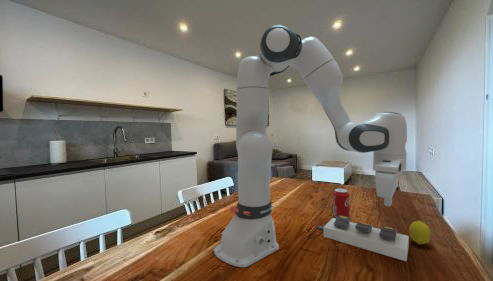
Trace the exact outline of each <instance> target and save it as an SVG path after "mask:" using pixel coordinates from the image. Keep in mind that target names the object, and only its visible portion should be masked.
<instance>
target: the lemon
mask: <svg viewBox="0 0 493 281" xmlns="http://www.w3.org/2000/svg"><path fill="white" fill-rule="evenodd" d="M408 233H409V238H411V240H412V241H414V242H415V243H416V244H418V245H419V246H421V245H424V244H425V245H426V244H427V243H429V242H430V241H431V236H432V235H431V230H430V228H429V226H428V225H427V224H426V223H424V222H423V221H421V220H416V221H412V223H411V224H410V225H409V228H408Z"/></svg>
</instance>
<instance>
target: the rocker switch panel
mask: <svg viewBox="0 0 493 281" xmlns="http://www.w3.org/2000/svg"><path fill="white" fill-rule="evenodd" d="M335 221H336V217H332V218H331V219H330V220H329V221H328V222H327V223H326V224H325V225H324V226H322V225H319V224H318V225H317V229H318V230H321V231H323V237H324V238H327V239H330V240H334V241H336V242H337V241H338V242H340V243H344V244H347V245H350V246H354V247H357V248H360V249H363V250H367V251H370V252H373V253H377V254H380V255H382V256H383V255H384V256H387V257H390V258H394V259H398V260H400V261H404V262H407V260H408V253H409V246H410V245H409V244H410V241H409V240H410V235H406V234H402V233H398V232H397V234H396V238H395V241H392V240H389V239H385V238H381V237H380V231H381V228H376V227H373V226H372V229H371V231H370V232H365V231H361V230H357V229H355V225H357V223H355V222H351V221H350V223H349V225H348V226H347V228H346V229H343V228H339V227H335V226H334V222H335Z"/></svg>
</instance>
